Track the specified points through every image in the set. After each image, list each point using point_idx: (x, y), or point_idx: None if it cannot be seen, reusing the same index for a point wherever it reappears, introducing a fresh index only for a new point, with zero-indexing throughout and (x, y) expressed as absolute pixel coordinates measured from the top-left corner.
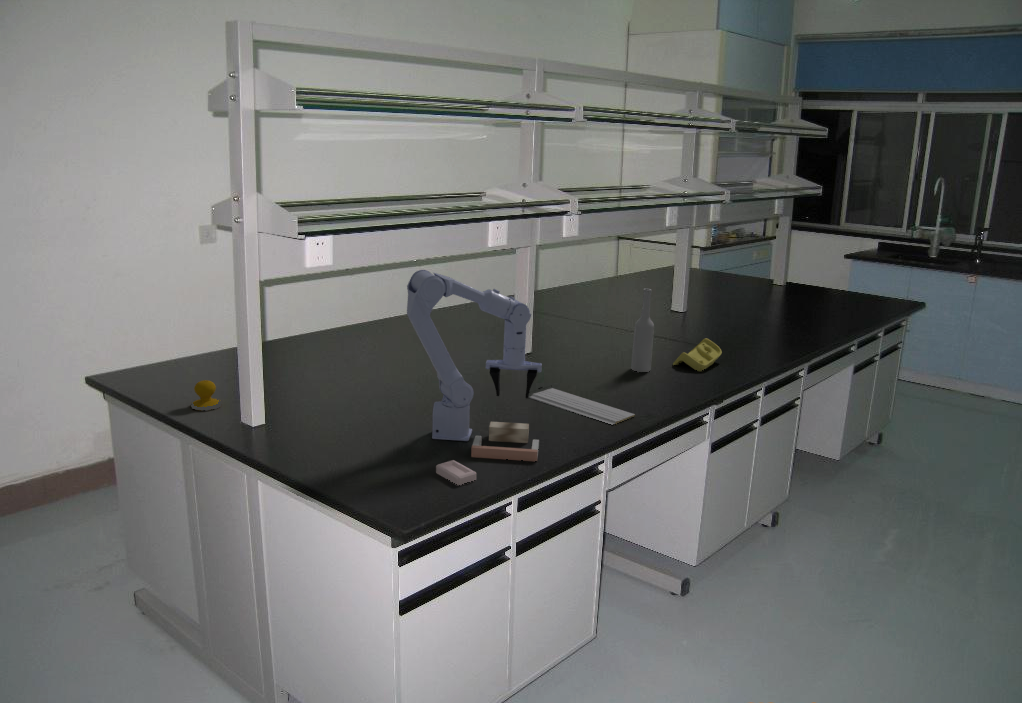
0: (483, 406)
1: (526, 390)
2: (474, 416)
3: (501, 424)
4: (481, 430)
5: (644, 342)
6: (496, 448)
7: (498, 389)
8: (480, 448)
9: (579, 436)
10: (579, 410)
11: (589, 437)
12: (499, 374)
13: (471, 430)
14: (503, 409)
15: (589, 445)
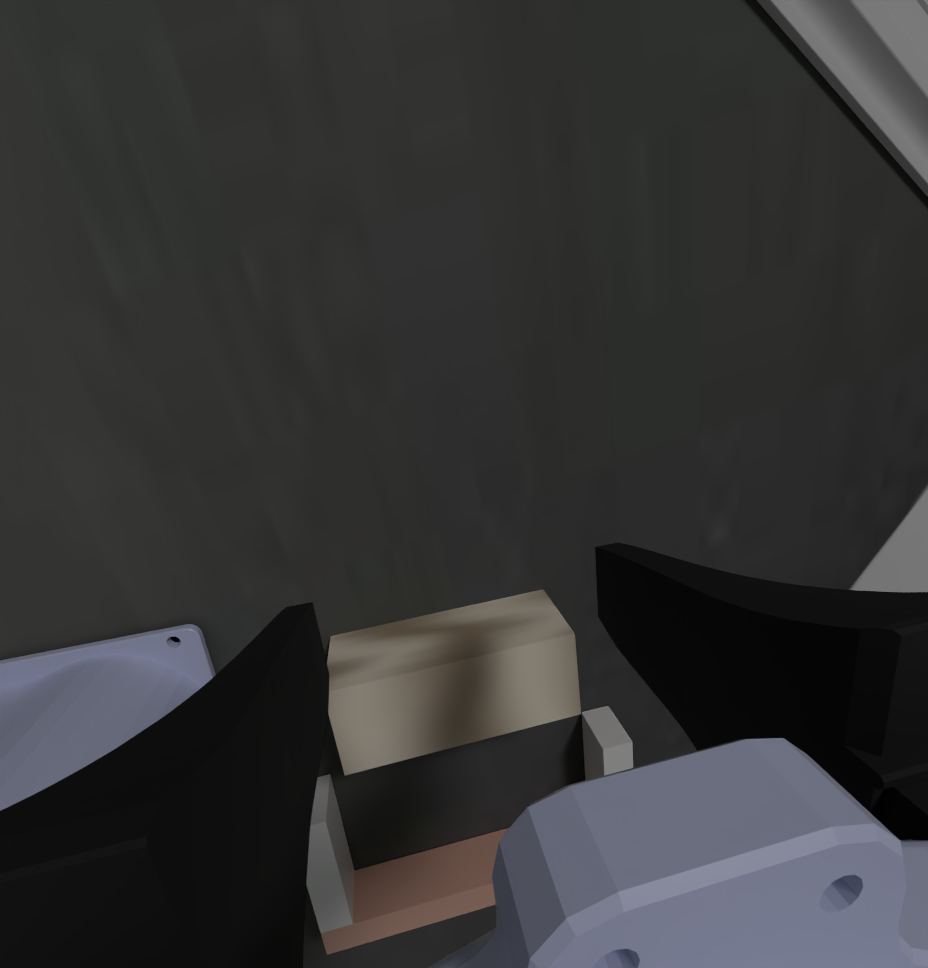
0: (44, 47)
1: (650, 684)
2: (89, 349)
3: (408, 710)
4: (253, 590)
5: None
6: (449, 912)
7: (317, 756)
8: (372, 938)
9: (793, 481)
10: (846, 16)
11: (838, 478)
12: (259, 883)
13: (202, 655)
14: (257, 94)
15: (826, 577)
